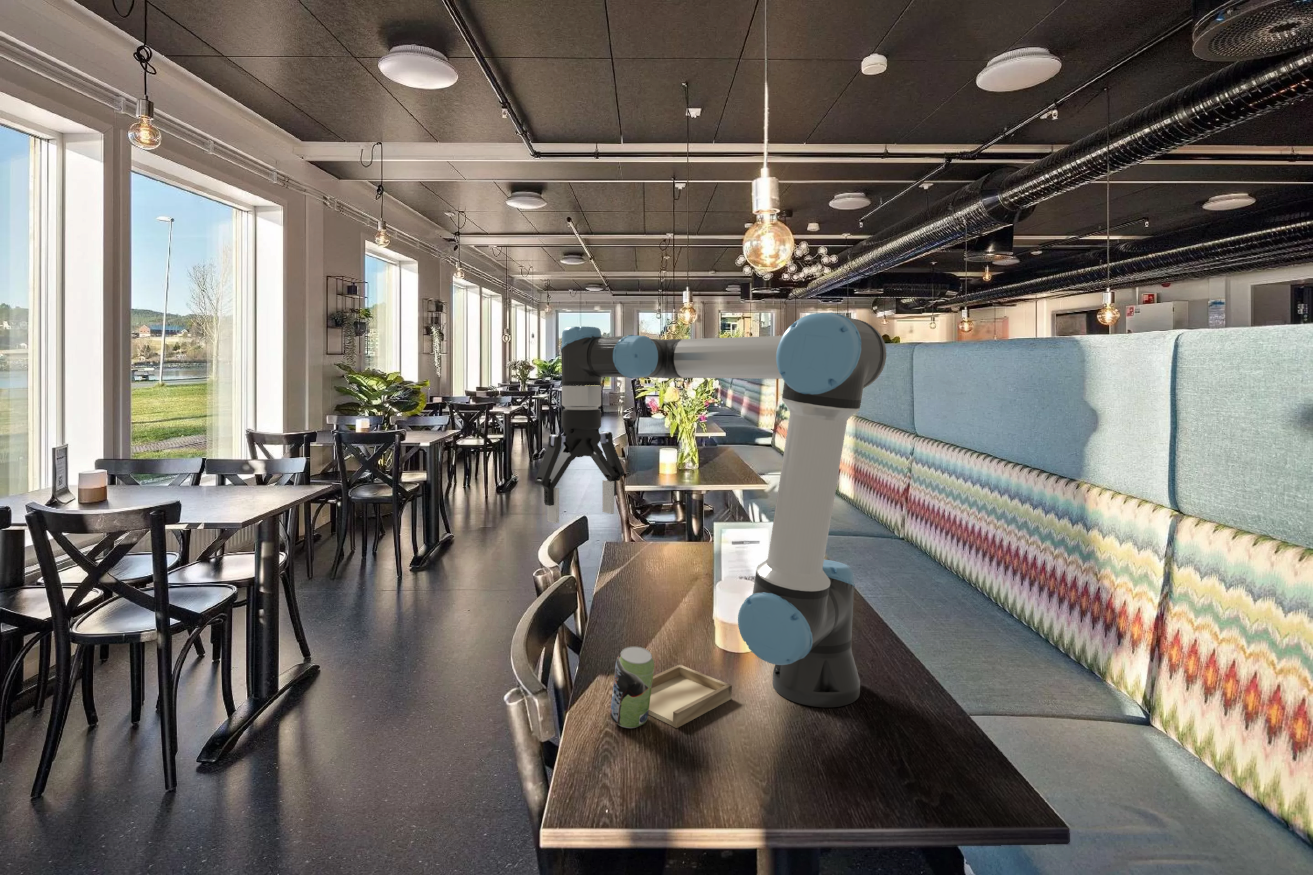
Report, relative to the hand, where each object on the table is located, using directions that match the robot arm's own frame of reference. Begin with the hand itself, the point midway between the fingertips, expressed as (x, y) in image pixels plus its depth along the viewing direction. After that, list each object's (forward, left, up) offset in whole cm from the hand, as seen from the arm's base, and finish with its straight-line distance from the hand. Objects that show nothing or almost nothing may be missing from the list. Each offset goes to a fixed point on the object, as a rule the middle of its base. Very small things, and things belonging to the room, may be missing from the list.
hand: (581, 517), depth 134 cm
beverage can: (-27, +12, -27) cm, 40 cm away
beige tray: (-27, +1, -27) cm, 38 cm away
